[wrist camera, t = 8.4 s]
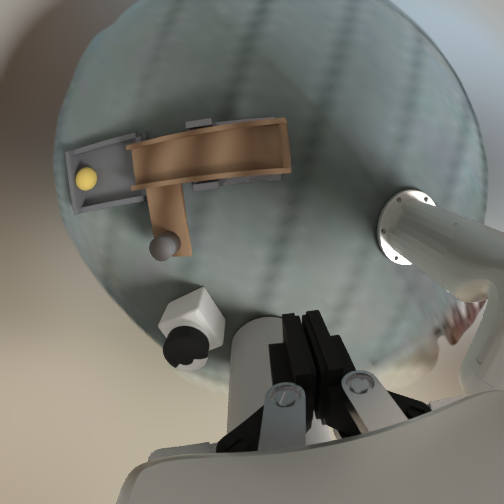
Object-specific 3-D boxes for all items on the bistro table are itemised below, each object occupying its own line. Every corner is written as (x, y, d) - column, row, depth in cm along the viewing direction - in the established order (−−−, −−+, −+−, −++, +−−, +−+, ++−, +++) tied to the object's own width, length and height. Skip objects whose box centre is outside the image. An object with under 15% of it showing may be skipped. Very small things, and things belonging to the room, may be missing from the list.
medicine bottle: (167, 302, 44) (147, 346, 33) (204, 285, 43) (191, 328, 32) (190, 334, 46) (178, 382, 35) (226, 319, 45) (221, 368, 34)
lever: (286, 119, 28) (283, 115, 25) (296, 252, 33) (294, 264, 30) (134, 145, 33) (117, 146, 29) (152, 254, 38) (137, 264, 34)
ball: (70, 171, 34) (87, 168, 37) (73, 194, 35) (90, 189, 38) (82, 167, 32) (99, 163, 35) (85, 191, 33) (103, 186, 36)
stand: (275, 117, 35) (282, 108, 28) (281, 179, 38) (289, 184, 31) (188, 126, 35) (176, 120, 29) (195, 188, 38) (185, 195, 32)
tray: (146, 132, 35) (138, 130, 32) (154, 197, 39) (146, 201, 35) (76, 151, 35) (64, 151, 32) (85, 210, 39) (74, 215, 35)
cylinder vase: (231, 368, 49) (226, 488, 25) (232, 313, 45) (224, 445, 21) (297, 369, 50) (322, 483, 26) (307, 315, 46) (350, 438, 22)
